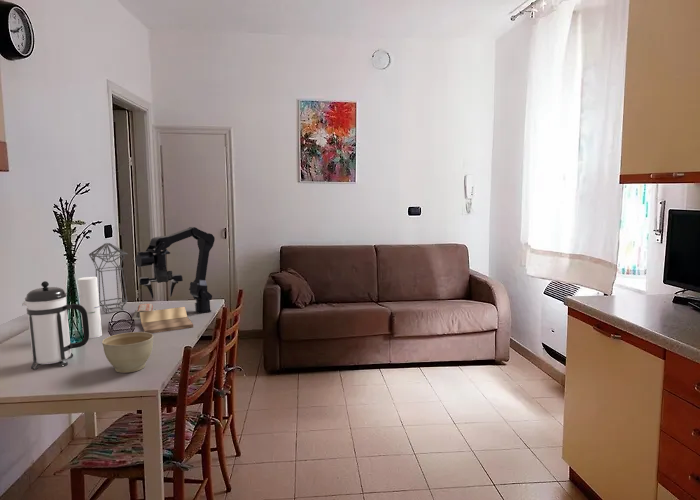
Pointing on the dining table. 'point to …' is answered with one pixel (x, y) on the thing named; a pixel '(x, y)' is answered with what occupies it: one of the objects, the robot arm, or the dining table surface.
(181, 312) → the oak plank
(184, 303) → the dining table surface
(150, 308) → the packaged product
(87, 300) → the cylindrical container
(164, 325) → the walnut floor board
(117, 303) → the geometric lantern
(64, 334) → the coffee press
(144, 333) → the planter bowl
